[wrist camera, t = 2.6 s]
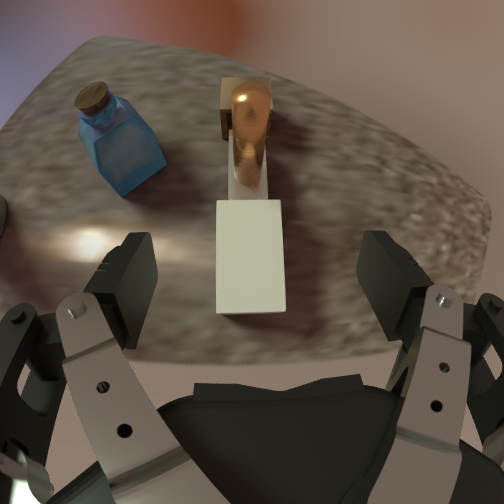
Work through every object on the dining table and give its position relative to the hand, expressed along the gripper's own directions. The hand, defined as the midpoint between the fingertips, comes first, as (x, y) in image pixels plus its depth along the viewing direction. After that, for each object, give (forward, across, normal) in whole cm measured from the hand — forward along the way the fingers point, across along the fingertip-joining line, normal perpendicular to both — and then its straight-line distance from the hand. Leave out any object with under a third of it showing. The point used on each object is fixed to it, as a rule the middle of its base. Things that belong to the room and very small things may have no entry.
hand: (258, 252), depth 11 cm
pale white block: (+14, 0, +10) cm, 17 cm away
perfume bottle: (+22, +13, +2) cm, 26 cm away
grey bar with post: (+16, 0, +6) cm, 17 cm away
